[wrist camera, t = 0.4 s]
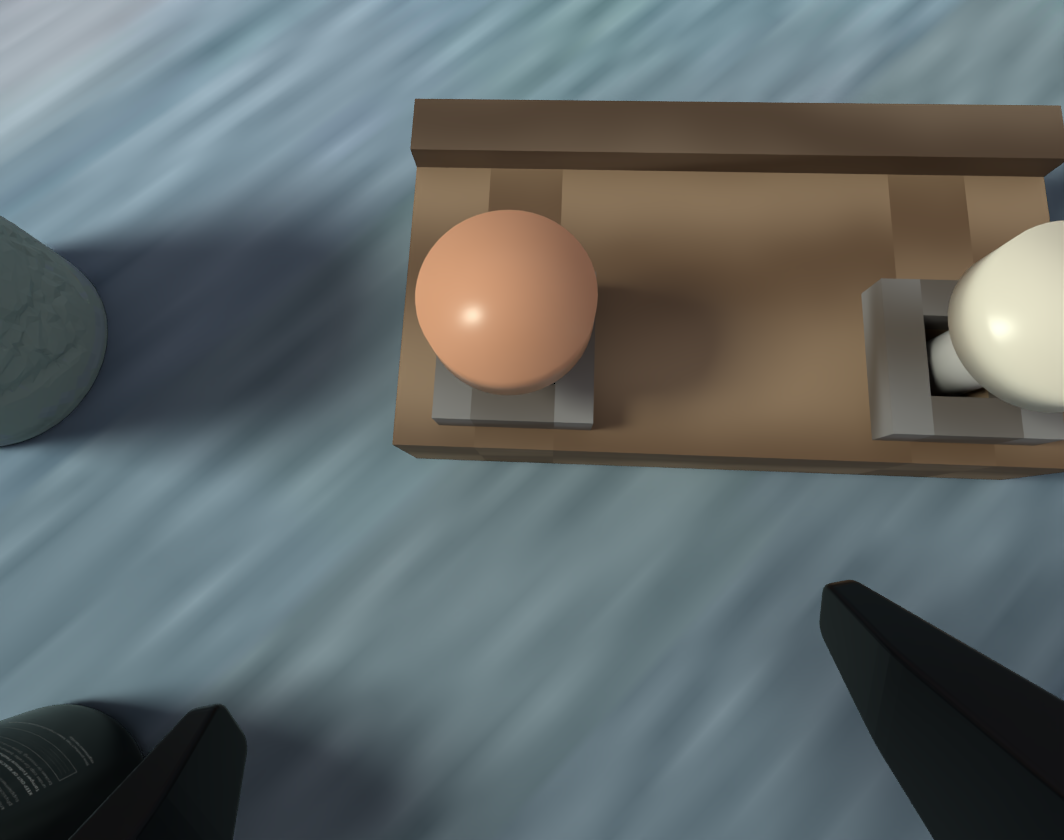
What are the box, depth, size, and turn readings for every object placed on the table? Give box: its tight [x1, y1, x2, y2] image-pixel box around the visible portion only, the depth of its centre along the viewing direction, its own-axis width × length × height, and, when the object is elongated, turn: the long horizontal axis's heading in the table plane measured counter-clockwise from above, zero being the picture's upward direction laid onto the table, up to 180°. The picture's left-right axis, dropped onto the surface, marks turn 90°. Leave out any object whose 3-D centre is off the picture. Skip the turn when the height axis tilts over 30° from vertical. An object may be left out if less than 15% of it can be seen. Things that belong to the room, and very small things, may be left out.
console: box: [393, 99, 1064, 480], centre depth 21 cm, size 12×22×5 cm, turn 88°
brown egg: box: [415, 210, 598, 395], centre depth 17 cm, size 5×5×6 cm
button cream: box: [926, 221, 1064, 413], centre depth 17 cm, size 5×5×6 cm
